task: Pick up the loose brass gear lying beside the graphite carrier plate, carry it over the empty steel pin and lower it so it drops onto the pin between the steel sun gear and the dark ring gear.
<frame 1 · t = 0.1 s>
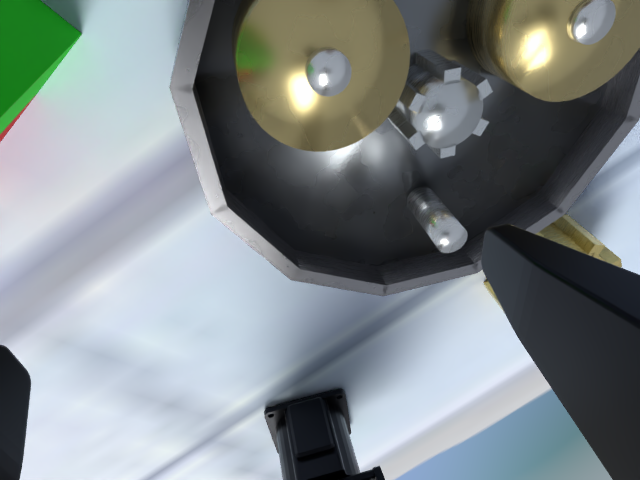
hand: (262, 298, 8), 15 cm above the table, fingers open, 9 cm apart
planet gear: (533, 259, 32), on the table
carrier: (414, 86, 22), on the table
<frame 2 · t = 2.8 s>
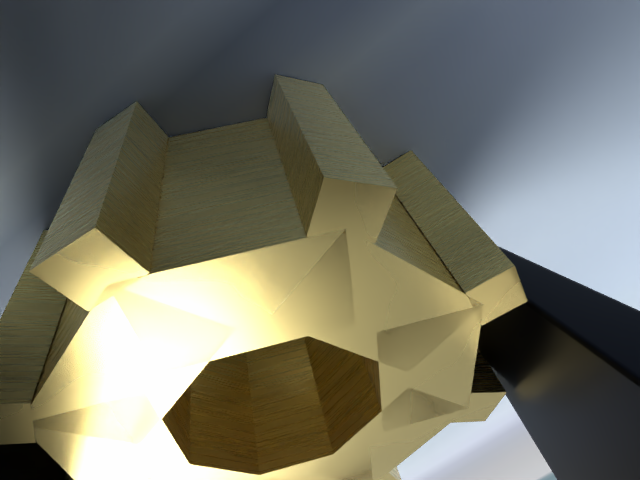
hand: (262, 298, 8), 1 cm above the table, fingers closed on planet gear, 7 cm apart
planet gear: (255, 264, 9), on the table, touching gripper
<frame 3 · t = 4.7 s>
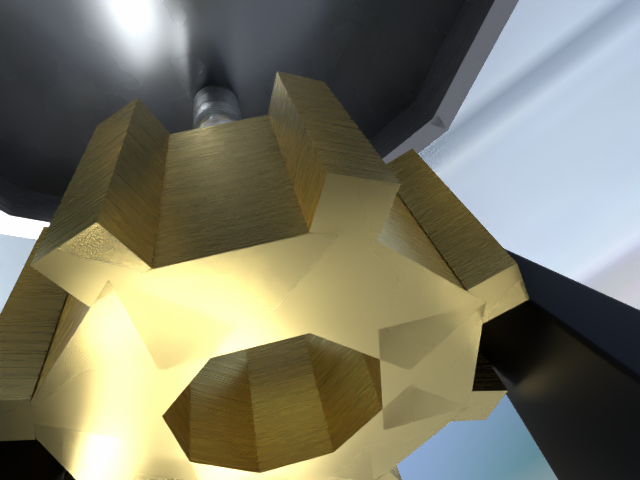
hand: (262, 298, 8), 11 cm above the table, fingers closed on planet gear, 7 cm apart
planet gear: (256, 262, 9), point 10 cm above the table, touching gripper
when the fingers open (3 cm above the table, at t = 6.8 s): planet gear stays where it is, resting on carrier.
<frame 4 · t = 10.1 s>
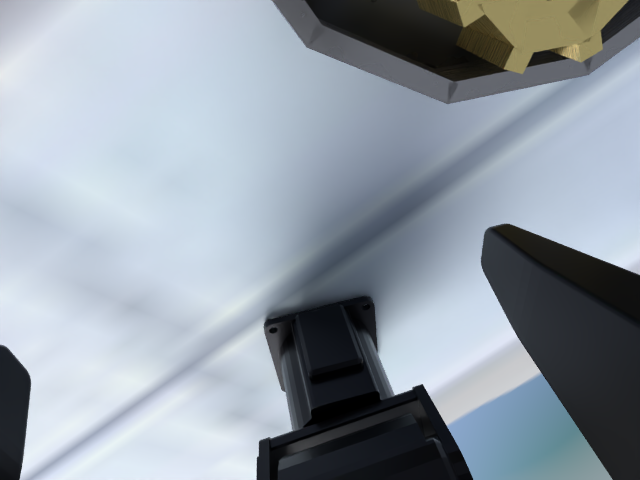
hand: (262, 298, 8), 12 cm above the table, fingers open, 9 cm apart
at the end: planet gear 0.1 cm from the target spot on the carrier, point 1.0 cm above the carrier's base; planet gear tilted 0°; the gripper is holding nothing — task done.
